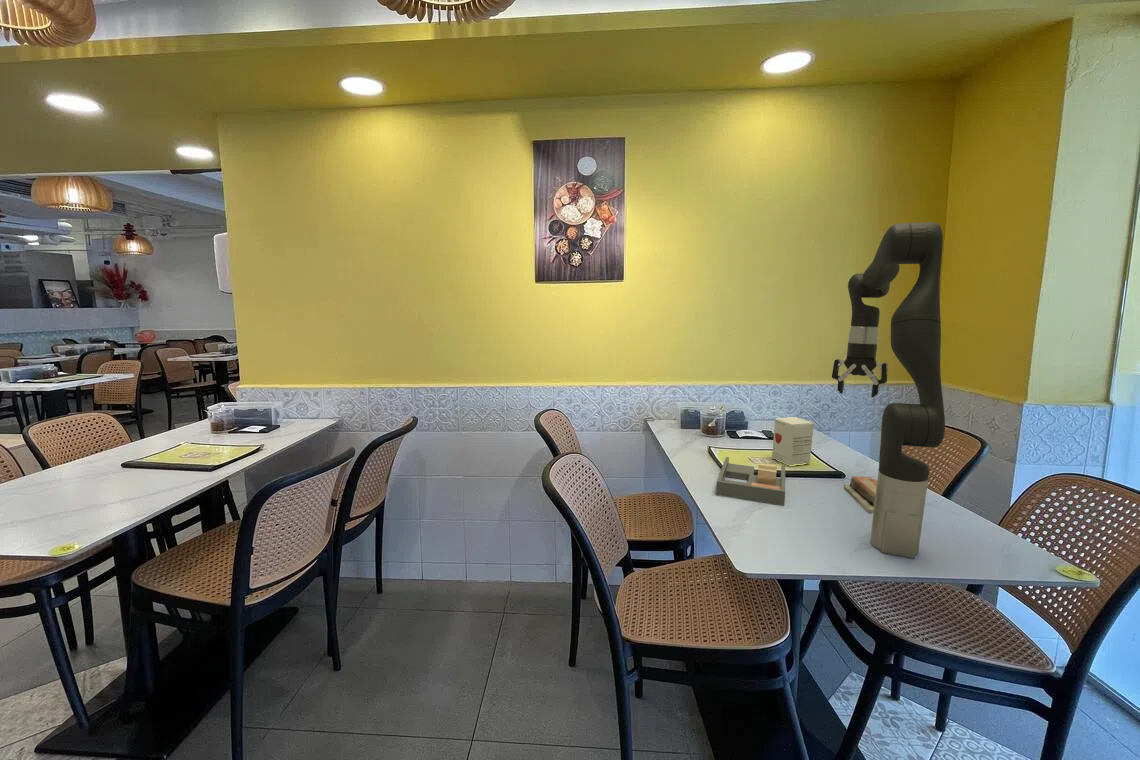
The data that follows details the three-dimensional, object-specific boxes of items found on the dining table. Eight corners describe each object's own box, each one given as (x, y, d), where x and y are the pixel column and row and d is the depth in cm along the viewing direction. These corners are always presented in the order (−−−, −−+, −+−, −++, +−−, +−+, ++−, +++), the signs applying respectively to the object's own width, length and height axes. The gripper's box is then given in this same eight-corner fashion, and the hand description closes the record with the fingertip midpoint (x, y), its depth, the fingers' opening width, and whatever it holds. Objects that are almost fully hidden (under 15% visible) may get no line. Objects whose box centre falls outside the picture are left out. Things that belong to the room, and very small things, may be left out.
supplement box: (770, 459, 172) (774, 417, 170) (791, 456, 175) (795, 416, 172) (789, 467, 164) (793, 424, 161) (810, 464, 166) (814, 422, 164)
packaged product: (843, 474, 145) (880, 476, 144) (842, 489, 146) (878, 491, 145) (870, 497, 128) (911, 500, 126) (868, 515, 129) (909, 518, 127)
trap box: (784, 505, 133) (785, 491, 132) (715, 494, 140) (716, 481, 139) (784, 476, 155) (785, 464, 154) (725, 468, 162) (725, 457, 161)
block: (775, 485, 142) (776, 472, 142) (757, 482, 144) (758, 469, 144) (775, 478, 148) (776, 465, 147) (758, 475, 150) (759, 463, 149)
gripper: (833, 340, 147) (828, 393, 149) (888, 343, 138) (882, 400, 140) (838, 339, 153) (833, 390, 155) (892, 342, 144) (886, 396, 146)
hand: (857, 395), depth 148 cm, fingers open, 8 cm apart
